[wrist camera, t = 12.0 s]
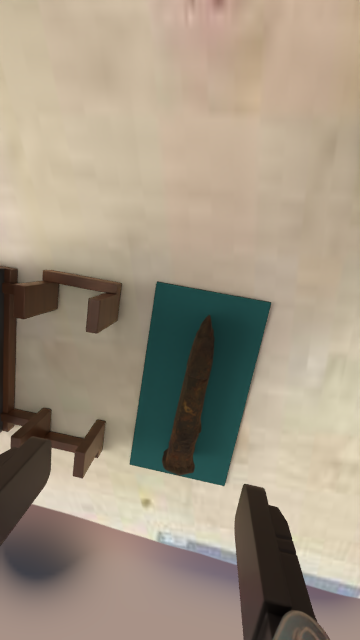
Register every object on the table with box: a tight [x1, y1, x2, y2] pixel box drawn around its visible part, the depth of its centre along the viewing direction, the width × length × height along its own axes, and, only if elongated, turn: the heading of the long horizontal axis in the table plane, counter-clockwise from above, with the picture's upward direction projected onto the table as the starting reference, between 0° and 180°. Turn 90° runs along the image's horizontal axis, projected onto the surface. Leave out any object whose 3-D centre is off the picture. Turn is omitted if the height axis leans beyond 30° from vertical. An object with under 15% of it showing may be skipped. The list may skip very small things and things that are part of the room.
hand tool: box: [162, 315, 215, 476], centre depth 30 cm, size 19×4×5 cm, turn 167°
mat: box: [130, 282, 271, 486], centre depth 32 cm, size 13×25×1 cm, turn 170°
